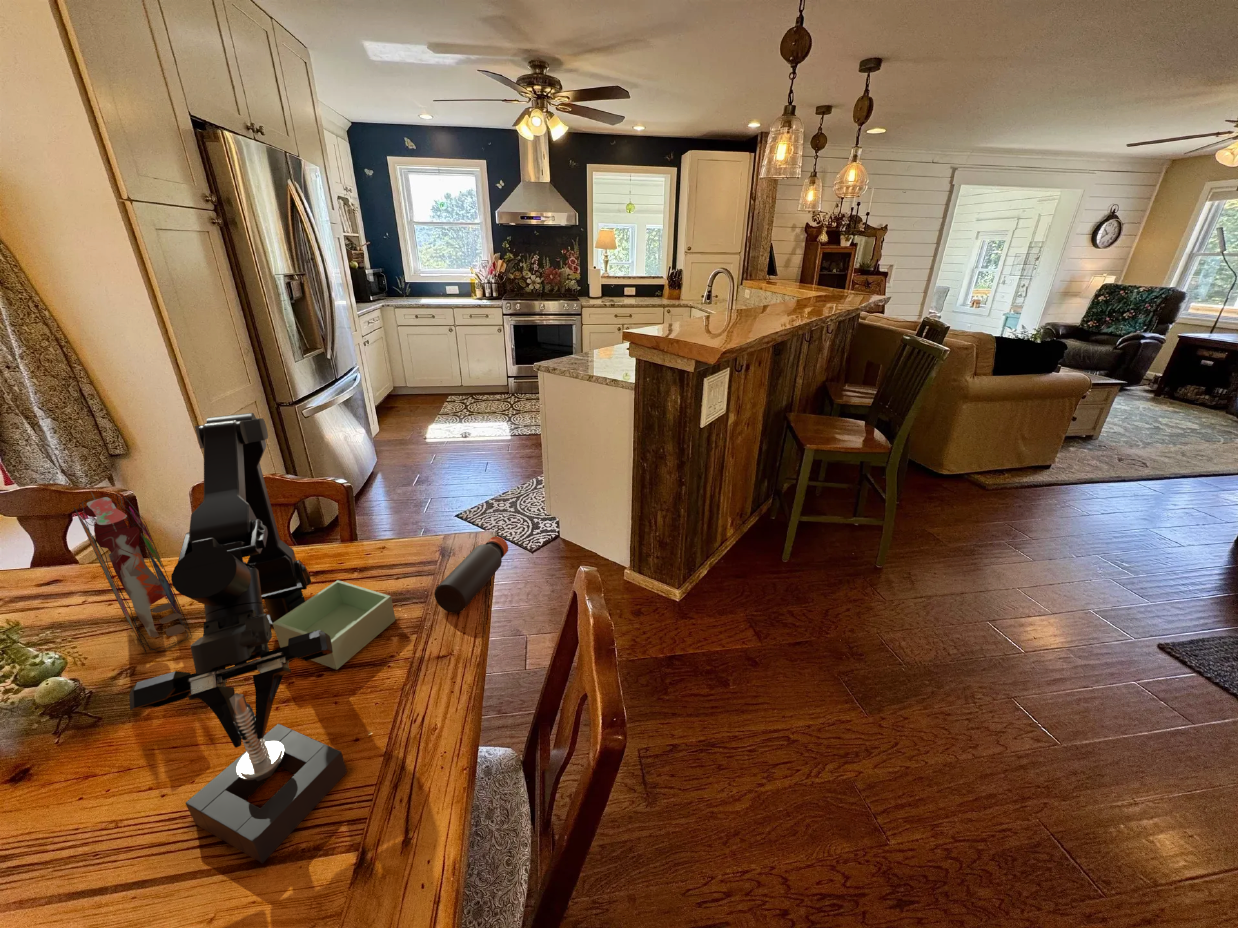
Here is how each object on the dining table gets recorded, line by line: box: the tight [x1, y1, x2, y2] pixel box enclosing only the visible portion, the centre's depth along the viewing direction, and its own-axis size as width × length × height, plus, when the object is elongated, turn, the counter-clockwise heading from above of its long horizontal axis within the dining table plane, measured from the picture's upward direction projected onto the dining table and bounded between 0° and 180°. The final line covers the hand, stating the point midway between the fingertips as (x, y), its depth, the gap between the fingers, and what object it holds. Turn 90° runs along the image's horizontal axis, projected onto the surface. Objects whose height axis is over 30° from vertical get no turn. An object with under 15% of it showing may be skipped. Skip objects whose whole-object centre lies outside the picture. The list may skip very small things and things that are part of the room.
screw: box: [230, 692, 285, 781], centre depth 58 cm, size 13×5×5 cm
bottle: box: [434, 535, 509, 614], centre depth 103 cm, size 7×7×20 cm
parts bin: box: [272, 579, 397, 670], centre depth 89 cm, size 13×13×6 cm
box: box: [73, 491, 193, 654], centre depth 88 cm, size 25×6×24 cm, turn 53°
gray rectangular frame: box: [185, 723, 348, 865], centre depth 62 cm, size 12×12×4 cm
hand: (249, 742), depth 57 cm, fingers closed on screw, 2 cm apart
